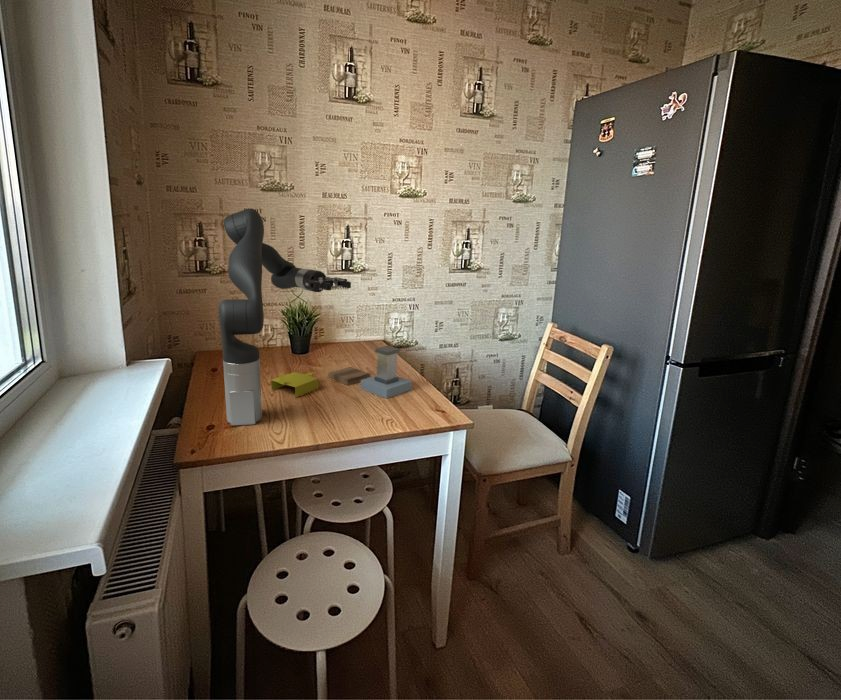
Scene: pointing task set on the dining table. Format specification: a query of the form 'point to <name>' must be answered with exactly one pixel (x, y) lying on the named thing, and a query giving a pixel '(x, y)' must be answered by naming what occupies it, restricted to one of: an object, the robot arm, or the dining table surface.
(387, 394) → the stand
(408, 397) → the dining table surface
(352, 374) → the stand
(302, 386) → the bracket
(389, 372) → the post
